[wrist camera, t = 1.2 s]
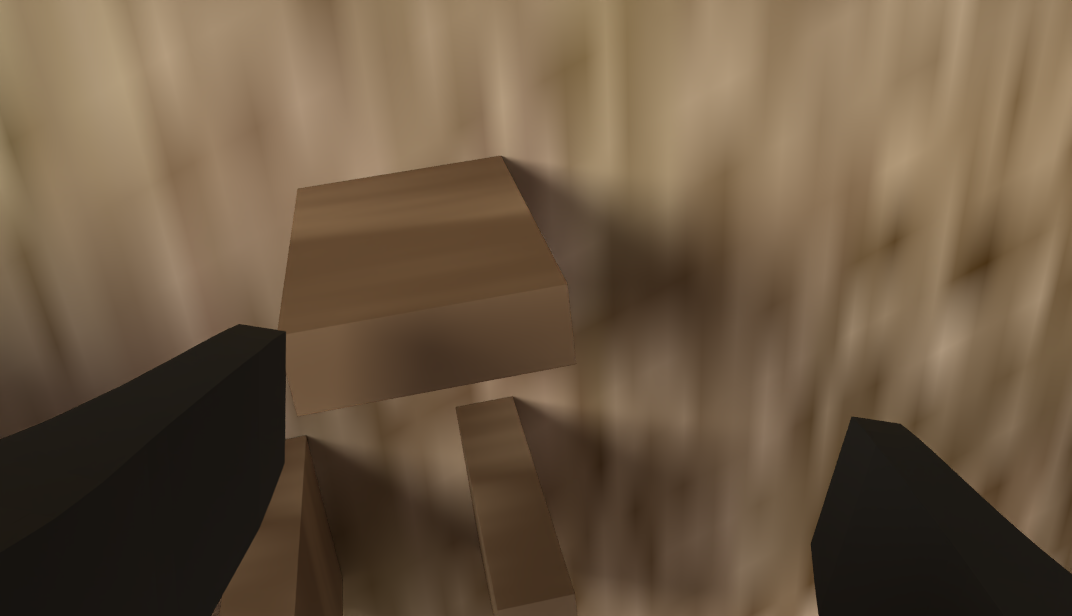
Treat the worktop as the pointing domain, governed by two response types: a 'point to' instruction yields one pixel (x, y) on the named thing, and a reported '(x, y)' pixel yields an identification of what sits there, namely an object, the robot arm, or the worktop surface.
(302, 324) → the domino
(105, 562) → the robot arm
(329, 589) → the domino
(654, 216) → the worktop surface
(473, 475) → the domino
